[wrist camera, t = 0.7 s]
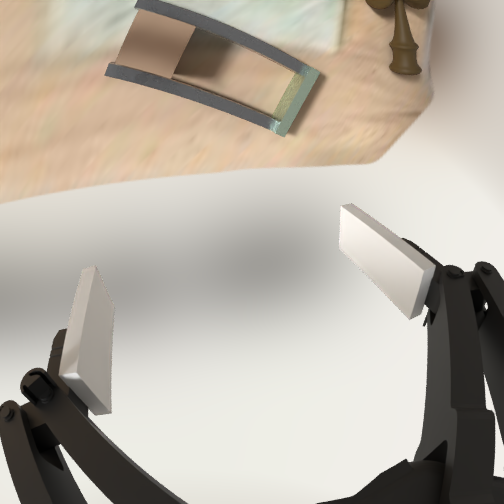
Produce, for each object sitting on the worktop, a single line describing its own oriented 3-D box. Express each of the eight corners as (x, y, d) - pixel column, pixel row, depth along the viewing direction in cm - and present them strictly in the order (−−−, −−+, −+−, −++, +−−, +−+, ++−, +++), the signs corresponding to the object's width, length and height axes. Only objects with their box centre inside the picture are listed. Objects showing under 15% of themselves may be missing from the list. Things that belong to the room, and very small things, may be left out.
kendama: (370, 72, 37) (350, -47, 23) (412, 65, 38) (397, -41, 24) (397, 81, 33) (379, -51, 19) (438, 75, 34) (426, -41, 19)
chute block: (141, 14, 24) (139, 8, 19) (188, 29, 27) (196, 26, 22) (120, 60, 27) (114, 63, 22) (167, 73, 30) (170, 78, 25)
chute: (140, -2, 22) (140, -6, 20) (309, 69, 34) (320, 72, 32) (106, 73, 27) (103, 76, 25) (275, 130, 39) (284, 137, 37)
